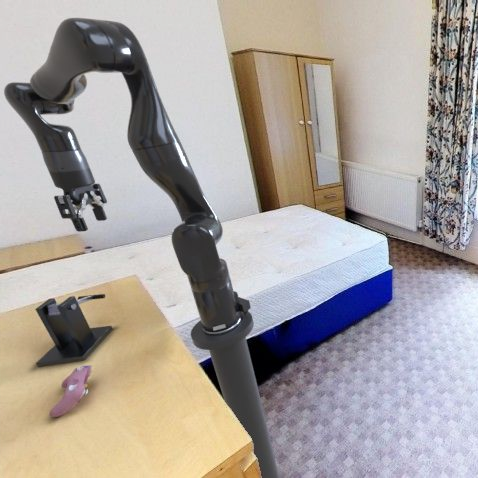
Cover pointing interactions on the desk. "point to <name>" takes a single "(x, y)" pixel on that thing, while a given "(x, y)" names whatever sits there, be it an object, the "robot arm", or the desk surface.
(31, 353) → the desk surface
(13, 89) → the robot arm
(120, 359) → the desk surface
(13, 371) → the desk surface
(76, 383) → the pink curved piece
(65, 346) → the bracket
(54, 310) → the lever
